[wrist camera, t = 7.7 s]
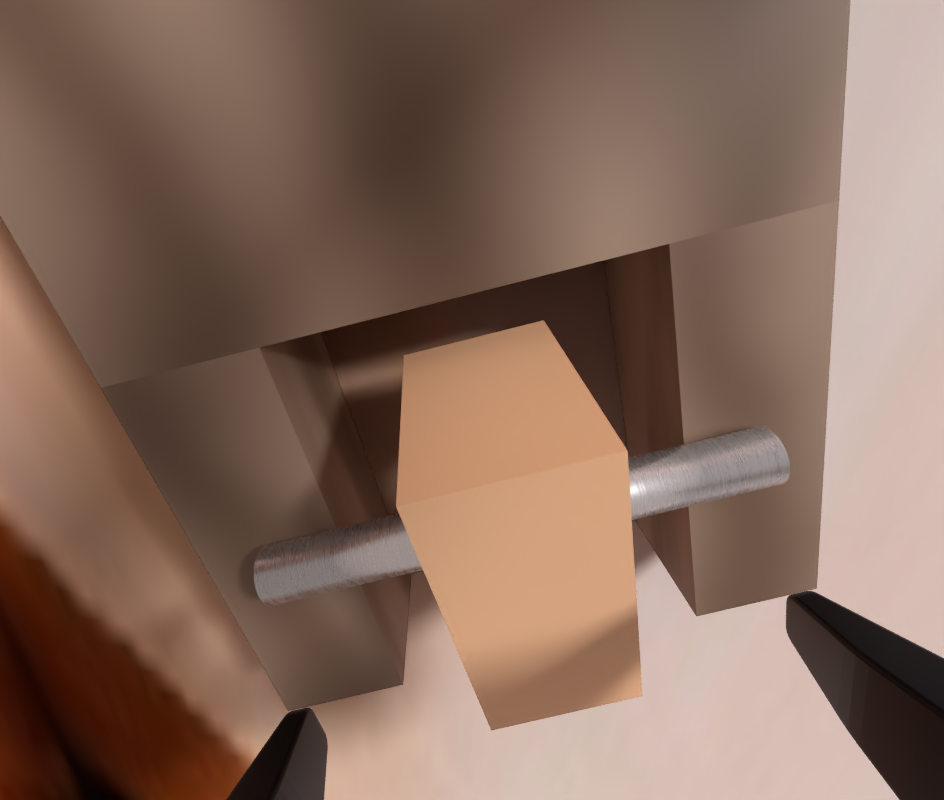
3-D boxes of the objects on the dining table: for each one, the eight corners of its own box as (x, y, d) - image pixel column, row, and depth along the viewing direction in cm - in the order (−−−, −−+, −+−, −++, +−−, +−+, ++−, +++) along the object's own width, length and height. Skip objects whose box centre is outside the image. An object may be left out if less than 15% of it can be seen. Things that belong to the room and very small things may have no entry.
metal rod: (750, 416, 13) (790, 442, 12) (751, 465, 14) (789, 496, 12) (267, 533, 13) (246, 573, 12) (288, 576, 14) (271, 619, 12)
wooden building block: (543, 320, 13) (627, 450, 8) (574, 524, 17) (642, 696, 12) (403, 355, 13) (396, 506, 8) (469, 549, 17) (491, 729, 12)
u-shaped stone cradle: (708, -112, 12) (867, -303, 8) (728, 501, 20) (816, 588, 15) (68, 63, 13) (-139, -21, 8) (322, 598, 20) (288, 711, 16)
